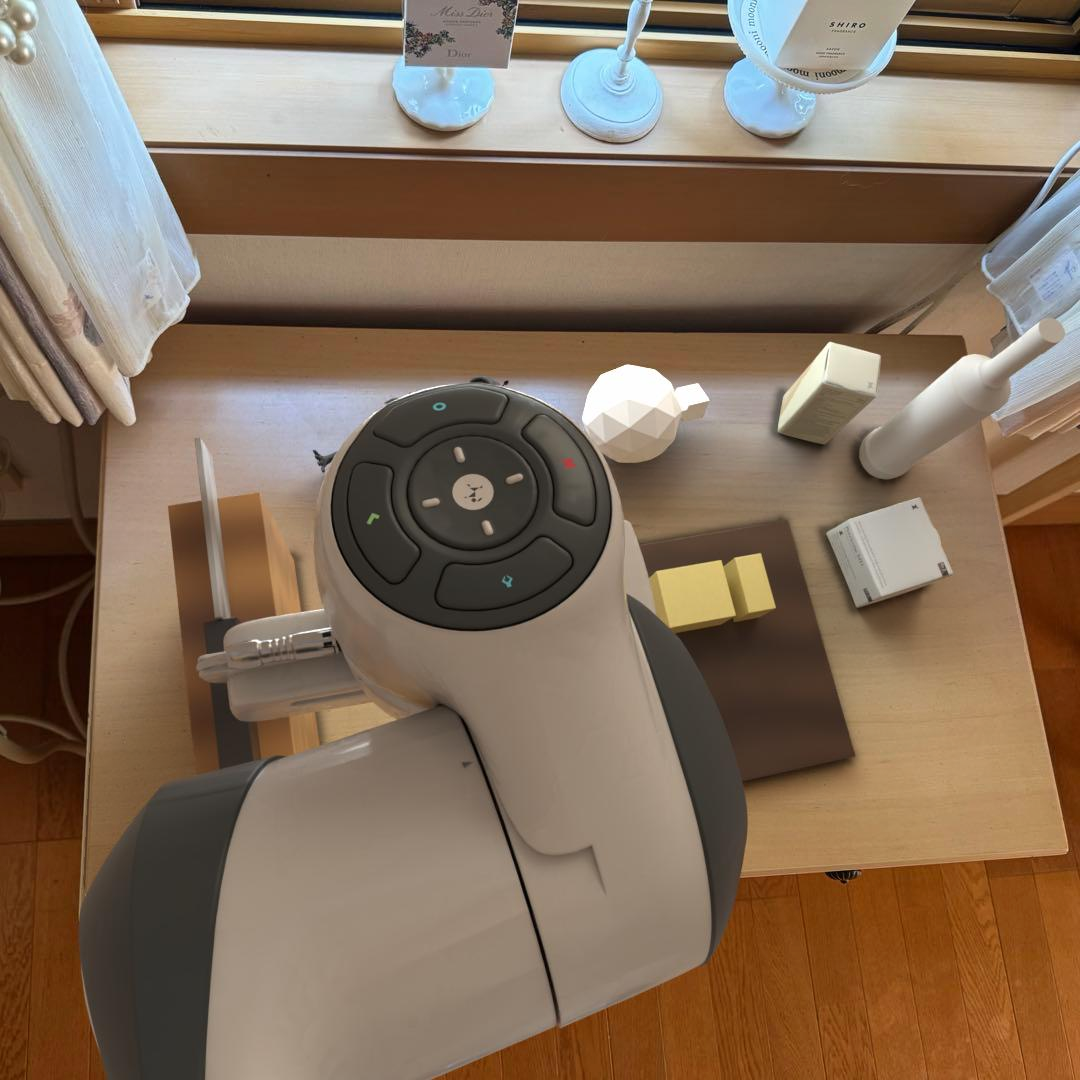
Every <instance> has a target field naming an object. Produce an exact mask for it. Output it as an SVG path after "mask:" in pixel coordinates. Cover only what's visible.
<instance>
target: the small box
mask: <svg viewBox="0 0 1080 1080" xmlns="http://www.w3.org/2000/svg"><path fill="white" fill-rule="evenodd" d="M826 537H827V539H828V541H829V543H830V546H831V548H832V550H833V553H834V555H835V558H836V560H837V563H838V565H839V567H840V570H841V572H842V575H843V577H844V579H845V582H846V584H847V587H848V589H849V592H850V594H851V597H852V601H853V603H854V605H855V608H856V609H859V608H862V607H865V606H869V605H872V604H875V603H878V602H881V601H885V600H888V599H890V598H893V597H897V596H900V595H903V594H906V593H909V592H911V591H915V590H917V589H921V588H923V587H926V586H929V585H931V584H933V583H936V582H938V581H941V580H944V579H946V578H950V577H953V575H954V571H953V569H952V567H951V564H950V562H949V560H948V557H947V555H946V552H945V551H944V548H943V546H942V541H941V537H940V533H939V532H938V530H937V529H936V528H935V526H934V525H933V523H932V521H931V519H930V517H929V514H928V511H927V509H926V507H925V504H924V503H923V500H922V498H921V497H920V496H918V497H915V498H912V499H908V500H906V501H901V502H899V503H896V504H892V505H890V506H887V507H883V508H880V509H876V510H874V511H871V512H868V513H864V514H860V515H858V516H855V517H852V518H851V517H850V518H849V519H847V520H845V521H843V522H842V523H840V524H839V525H837V526H836V527H834V528H832V529H830V530H829V531H826Z"/></svg>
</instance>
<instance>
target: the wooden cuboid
mask: <svg viewBox="0 0 1080 1080" xmlns="http://www.w3.org/2000/svg"><path fill="white" fill-rule="evenodd" d="M217 501H218V510H219V518H220V527H221V535H222V544H223V552H224V561H225V569H226V578H227V586H228V594H229V603H230V611H231V618H232V617H237V618H238V619H239V620H240V621H241V623H245V622H248V621H253V620H257V619H262V618H267V617H273V616H280V615H286V614H292V613H299V612H302V608H301V607H302V606H301V601H300V594H299V587H298V586H299V585H298V579H297V572H296V565H295V560H294V558H293V556H292V554H291V552H290V549H289V547H288V546H287V544H286V542H285V540H284V537H283V536H282V534H281V531H280V530H279V528H278V526H277V524H276V522H275V519H274V517H273V516H272V514H271V512H270V510H269V508H268V506H267V504H266V502H265V500H264V498H263V496H262V494H261V492H259V491H258V492H253V493H252V492H251V493H245V494H238V495H237V494H236V495H231V496H224V497H217ZM167 511H168V521H169V528H170V529H169V530H170V540H171V550H172V560H173V569H174V579H175V587H176V598H177V609H178V616H179V617H178V618H179V627H180V637H181V646H182V654H183V655H182V657H183V664H184V674H185V685H186V695H187V704H188V715H189V721H190V722H189V723H190V733H191V743H192V753H193V762H194V772H195V775H199V774H203V773H207V772H211V771H215V770H219V761H218V752H217V742H216V733H215V724H214V715H213V706H212V697H211V688H210V682H207V681H205V680H204V679H202V678H200V677H199V673H198V672H197V671H196V665H197V664H198V658H199V657H200V656H202V655H207V652H206V643H205V633H204V622H208V621H214V620H217V619H216V618H215V615H214V606H213V597H212V589H211V580H210V571H209V562H208V553H207V545H206V536H205V527H204V518H203V509H202V501H201V500H197V501H196V500H195V501H188V502H182V503H176V504H169V505H168V506H167ZM257 728H258V736H259V744H260V752H261V759H264V758H268V757H272V756H276V755H280V756H285V757H287V756H290V755H293V754H296V753H299V752H302V751H305V750H308V749H311V748H314V747H317V746H320V745H321V744H320V739H319V731H318V730H319V729H318V725H317V717H316V712H312V713H306V714H301V715H295V716H289V717H284V718H278V719H272V720H265V721H257Z"/></svg>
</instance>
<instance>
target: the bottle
mask: <svg viewBox="0 0 1080 1080" xmlns="http://www.w3.org/2000/svg"><path fill="white" fill-rule="evenodd" d="M1065 335H1066V331H1065V328H1064V326H1063V324H1062V323H1061V322H1060V321H1059V320H1057V319H1055V318H1054V317H1045V318H1043V319H1041V320H1040V321H1038V322H1037V323H1036V324H1035V325H1033V326H1032V327H1031V328H1029V329H1028V330H1027V331H1026V332H1025V333H1023V335H1021V336H1020V337H1019V338H1017V339H1016V340H1015V341H1014V342H1013V343H1011V344H1010V345H1008V346H1007V347H1006V348H1005V349H1003V350H1002V351H1001V352H999V353H998V354H996V355H995V356H994V357H993V358H991V357H989V356H987V355H985V354H977V353H972V354H966V355H964V356H962V357H961V358H960V359H958V361H956V362H955V363H954V364H952V365H951V366H950V367H949V368H948V369H947V370H946V371H945V372H943V373H942V374H941V375H939V377H937V378H936V379H935V380H934V381H933V382H931V384H930V385H928V386H927V387H926V388H924V390H922V391H921V392H920V393H919V394H918V395H917V396H915V397H914V398H913V399H912V400H911V401H910V402H909V403H907V404H906V405H905V406H904V407H903V408H901V410H899V411H898V412H897V413H896V414H895V415H893V416H892V417H891V418H890V419H888V421H887V422H885V423H884V424H883V425H882V426H879V427H875V428H874V429H873V430H872V431H871V432H869V433H868V434H867V435H866V436H864V438H863V439H862V442H861V444H860V446H859V449H858V458H859V461H860V464H861V466H862V468H863V469H864V470H865V471H866V472H867V473H868V474H869V475H870V476H872V477H874V478H876V479H879V480H880V479H881V480H891V479H895V478H898V477H901V476H903V475H904V474H906V473H907V472H908V471H909V470H910V469H911V468H913V466H914V464H917V462H919V461H921V460H923V459H924V458H925V457H927V456H928V455H930V454H931V453H933V452H935V451H936V450H938V449H939V448H941V447H943V446H944V445H946V444H948V443H949V442H950V441H952V440H954V439H955V438H956V437H959V436H961V434H963V433H965V432H966V431H968V430H969V429H971V428H972V427H974V426H975V425H977V424H978V423H980V422H982V421H984V420H985V419H986V418H988V417H989V416H991V415H993V414H994V413H996V412H998V411H999V410H1000V409H1002V408H1003V407H1004V406H1005V405H1006V404H1007V403H1008V402H1009V399H1010V397H1011V394H1012V387H1011V385H1012V384H1011V380H1010V378H1011V377H1012V376H1014V375H1015V374H1016V373H1018V372H1019V371H1021V370H1022V369H1023V368H1024V367H1026V366H1028V365H1029V364H1030V363H1032V362H1033V361H1034V360H1036V359H1037V358H1039V357H1040V356H1041V355H1044V354H1045V353H1047V352H1048V351H1050V350H1051V349H1052V348H1053V347H1055V346H1056V345H1057V344H1059V343H1060V342H1062V341H1063V340H1064V338H1065Z"/></svg>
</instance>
